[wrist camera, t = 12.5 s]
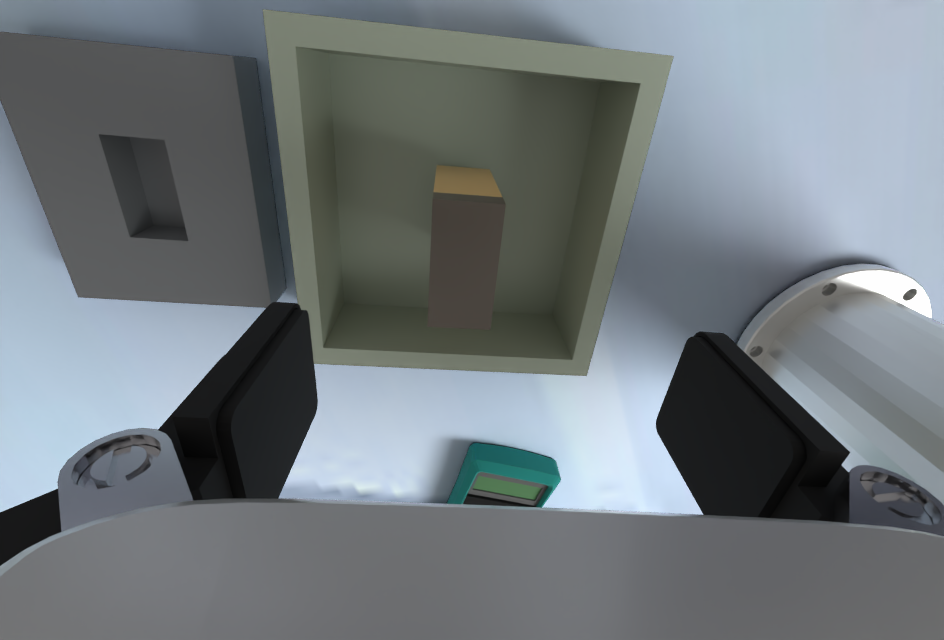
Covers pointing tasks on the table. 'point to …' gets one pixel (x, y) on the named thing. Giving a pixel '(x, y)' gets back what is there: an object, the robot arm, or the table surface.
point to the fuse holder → (148, 168)
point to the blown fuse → (464, 247)
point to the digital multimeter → (504, 477)
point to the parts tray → (461, 145)
